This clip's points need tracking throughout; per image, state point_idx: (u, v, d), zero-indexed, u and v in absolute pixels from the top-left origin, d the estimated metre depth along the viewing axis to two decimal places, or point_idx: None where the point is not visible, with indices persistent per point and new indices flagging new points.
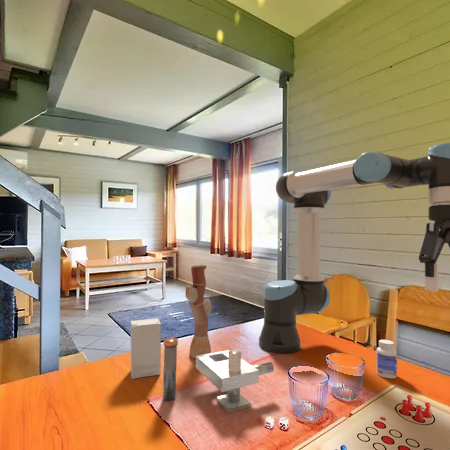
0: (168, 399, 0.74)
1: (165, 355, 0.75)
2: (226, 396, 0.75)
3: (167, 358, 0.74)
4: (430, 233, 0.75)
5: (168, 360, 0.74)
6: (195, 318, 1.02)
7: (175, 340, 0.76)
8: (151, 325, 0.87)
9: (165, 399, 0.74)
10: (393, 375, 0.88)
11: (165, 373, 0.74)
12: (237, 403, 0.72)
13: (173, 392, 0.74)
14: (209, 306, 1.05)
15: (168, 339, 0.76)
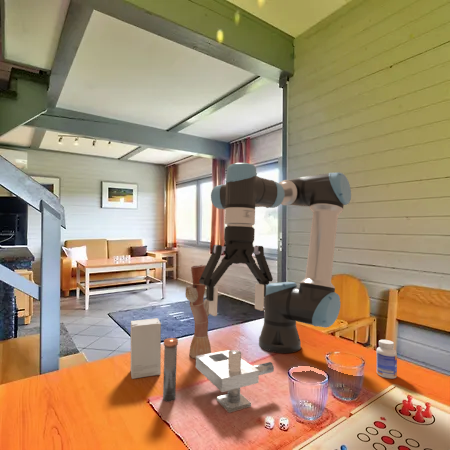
0: (168, 399, 0.74)
1: (165, 355, 0.75)
2: (226, 396, 0.75)
3: (167, 358, 0.74)
4: (213, 255, 0.73)
5: (167, 360, 0.74)
6: (195, 318, 1.02)
7: (175, 340, 0.76)
8: (151, 325, 0.87)
9: (165, 399, 0.74)
10: (393, 375, 0.88)
11: (165, 373, 0.74)
12: (237, 403, 0.72)
13: (173, 392, 0.74)
14: None
15: (168, 339, 0.76)
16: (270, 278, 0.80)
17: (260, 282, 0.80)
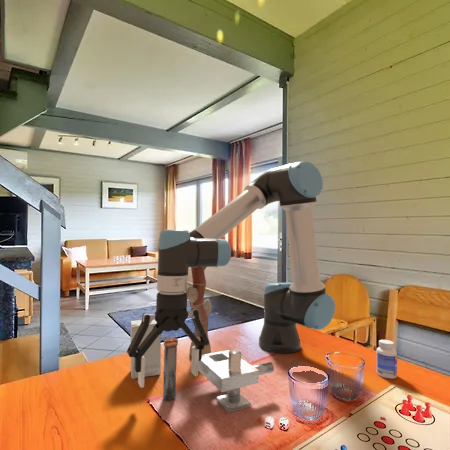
0: (168, 399, 0.74)
1: (165, 355, 0.75)
2: (226, 396, 0.75)
3: (167, 358, 0.74)
4: (141, 325, 0.72)
5: (168, 360, 0.74)
6: None
7: (175, 340, 0.76)
8: (151, 325, 0.87)
9: (165, 399, 0.74)
10: (393, 375, 0.88)
11: (165, 373, 0.74)
12: (237, 403, 0.72)
13: (173, 392, 0.74)
14: (209, 306, 1.05)
15: (168, 339, 0.76)
16: (206, 342, 0.79)
17: (196, 346, 0.79)
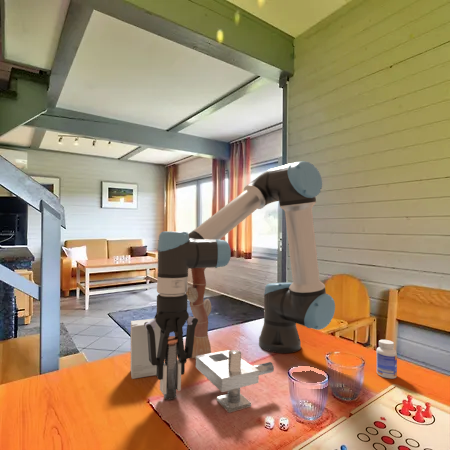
0: (169, 397, 0.74)
1: (166, 353, 0.75)
2: (226, 396, 0.75)
3: (168, 356, 0.74)
4: (148, 335, 0.73)
5: (168, 358, 0.74)
6: None
7: (175, 338, 0.76)
8: None
9: (166, 397, 0.74)
10: (393, 375, 0.88)
11: None
12: (237, 403, 0.72)
13: (174, 390, 0.75)
14: (209, 306, 1.05)
15: None
16: (189, 355, 0.77)
17: (179, 359, 0.77)
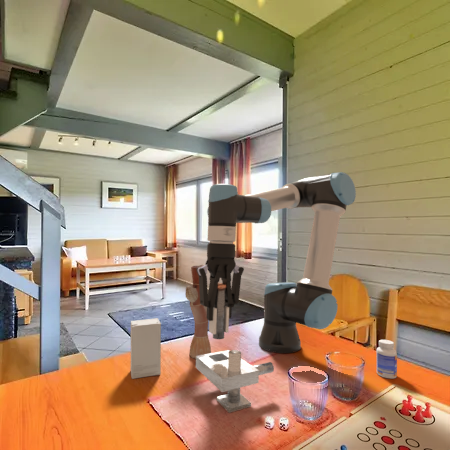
0: (218, 337, 0.80)
1: None
2: (226, 396, 0.75)
3: (218, 299, 0.80)
4: (200, 278, 0.79)
5: (218, 301, 0.80)
6: (195, 318, 1.02)
7: (224, 284, 0.81)
8: (151, 325, 0.87)
9: (215, 337, 0.80)
10: (393, 375, 0.88)
11: None
12: (237, 403, 0.72)
13: (223, 331, 0.80)
14: None
15: None
16: (236, 300, 0.82)
17: (226, 304, 0.82)
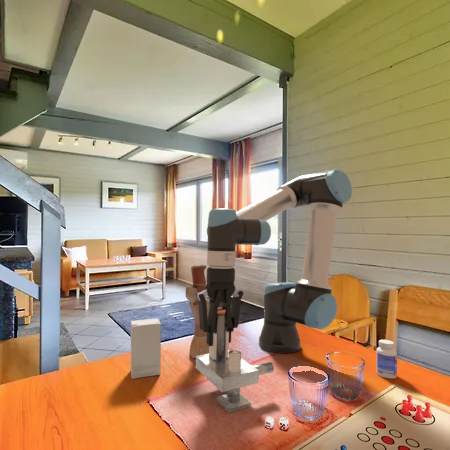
0: None
1: None
2: (226, 396, 0.75)
3: (218, 325, 0.80)
4: (200, 304, 0.79)
5: (218, 326, 0.80)
6: (195, 318, 1.02)
7: (223, 308, 0.81)
8: (151, 325, 0.87)
9: None
10: (393, 375, 0.88)
11: None
12: (237, 403, 0.72)
13: (223, 356, 0.80)
14: (209, 306, 1.05)
15: None
16: (236, 324, 0.82)
17: (226, 328, 0.82)
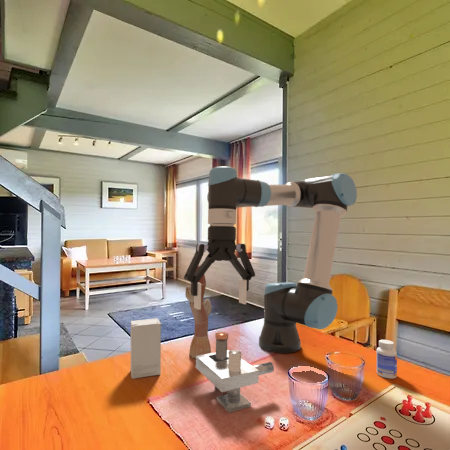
0: None
1: (217, 348, 0.80)
2: (226, 396, 0.75)
3: (220, 351, 0.80)
4: (196, 254, 0.79)
5: (220, 352, 0.80)
6: (195, 318, 1.02)
7: (225, 334, 0.81)
8: (151, 325, 0.87)
9: (217, 388, 0.80)
10: (393, 375, 0.88)
11: None
12: (237, 403, 0.72)
13: None
14: (209, 306, 1.05)
15: (219, 333, 0.82)
16: (252, 274, 0.85)
17: (243, 277, 0.85)
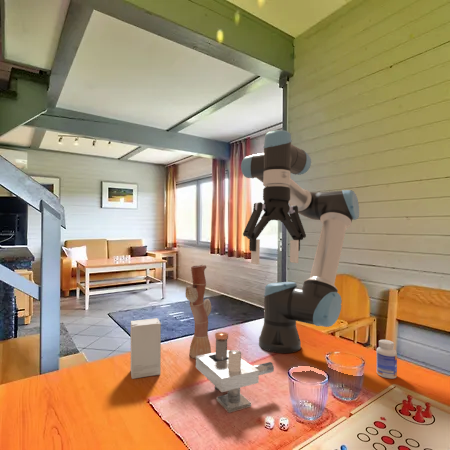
0: None
1: (217, 348, 0.80)
2: (226, 396, 0.75)
3: (220, 351, 0.80)
4: (254, 212, 0.83)
5: (220, 352, 0.80)
6: (195, 318, 1.02)
7: (225, 334, 0.81)
8: (151, 325, 0.87)
9: (217, 388, 0.80)
10: (393, 375, 0.88)
11: None
12: (237, 403, 0.72)
13: None
14: (209, 306, 1.05)
15: (219, 333, 0.82)
16: (304, 235, 0.89)
17: (295, 238, 0.89)
